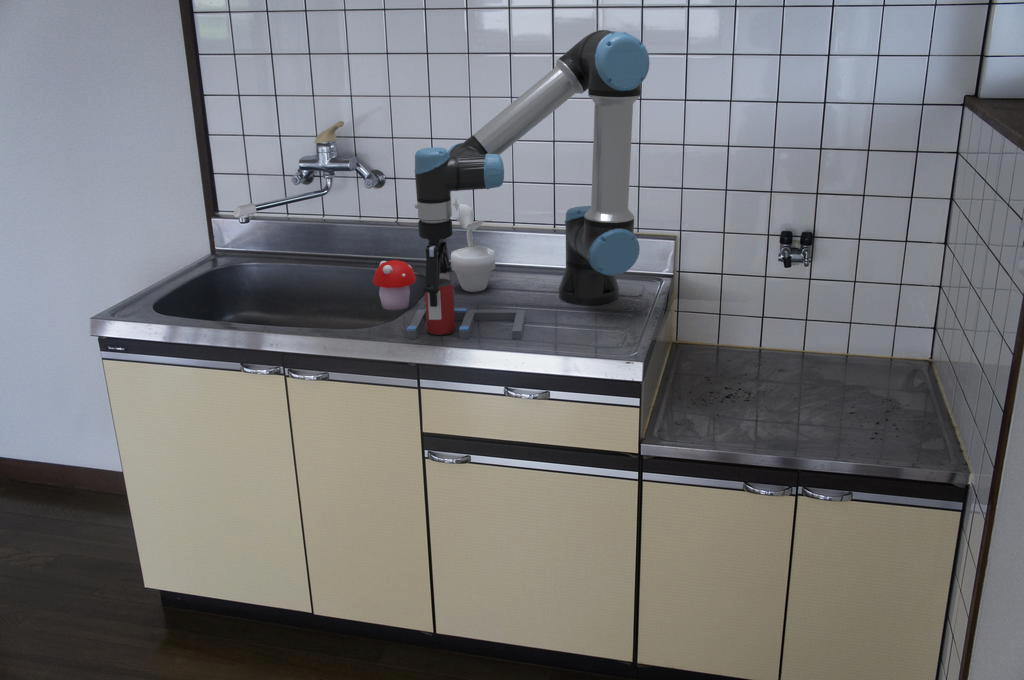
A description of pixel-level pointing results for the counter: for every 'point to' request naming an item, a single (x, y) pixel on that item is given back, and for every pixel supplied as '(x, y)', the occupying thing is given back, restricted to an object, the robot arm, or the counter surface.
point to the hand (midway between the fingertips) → (439, 309)
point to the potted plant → (472, 255)
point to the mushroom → (394, 284)
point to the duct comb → (472, 321)
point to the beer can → (443, 310)
